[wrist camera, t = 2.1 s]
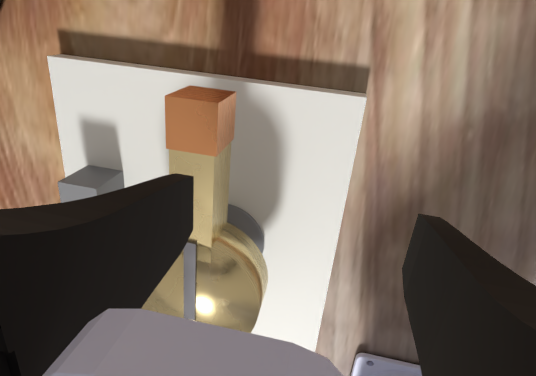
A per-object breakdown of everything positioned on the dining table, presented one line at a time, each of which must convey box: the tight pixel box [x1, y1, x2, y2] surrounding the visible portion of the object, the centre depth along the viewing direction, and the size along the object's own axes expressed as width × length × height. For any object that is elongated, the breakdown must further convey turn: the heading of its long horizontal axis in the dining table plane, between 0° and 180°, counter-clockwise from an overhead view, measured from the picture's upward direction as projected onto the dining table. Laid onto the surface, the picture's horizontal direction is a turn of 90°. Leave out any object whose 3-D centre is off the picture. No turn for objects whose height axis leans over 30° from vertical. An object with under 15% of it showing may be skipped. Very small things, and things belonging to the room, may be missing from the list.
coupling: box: [141, 85, 268, 333], centre depth 19 cm, size 14×7×3 cm, turn 175°
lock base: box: [47, 54, 367, 352], centre depth 23 cm, size 18×18×4 cm
